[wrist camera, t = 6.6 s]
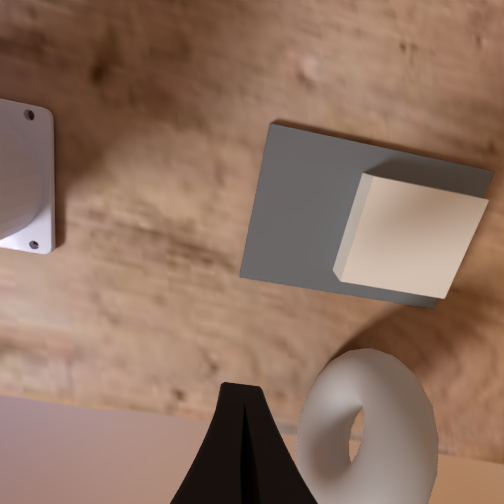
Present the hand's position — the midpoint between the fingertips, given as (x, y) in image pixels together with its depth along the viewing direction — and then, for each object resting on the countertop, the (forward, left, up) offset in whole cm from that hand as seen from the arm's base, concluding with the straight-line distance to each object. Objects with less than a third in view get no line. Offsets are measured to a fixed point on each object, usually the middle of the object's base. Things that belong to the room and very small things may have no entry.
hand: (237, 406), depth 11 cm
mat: (+6, +5, -10) cm, 13 cm away
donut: (+8, -6, -10) cm, 14 cm away
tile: (+6, +5, -9) cm, 11 cm away
